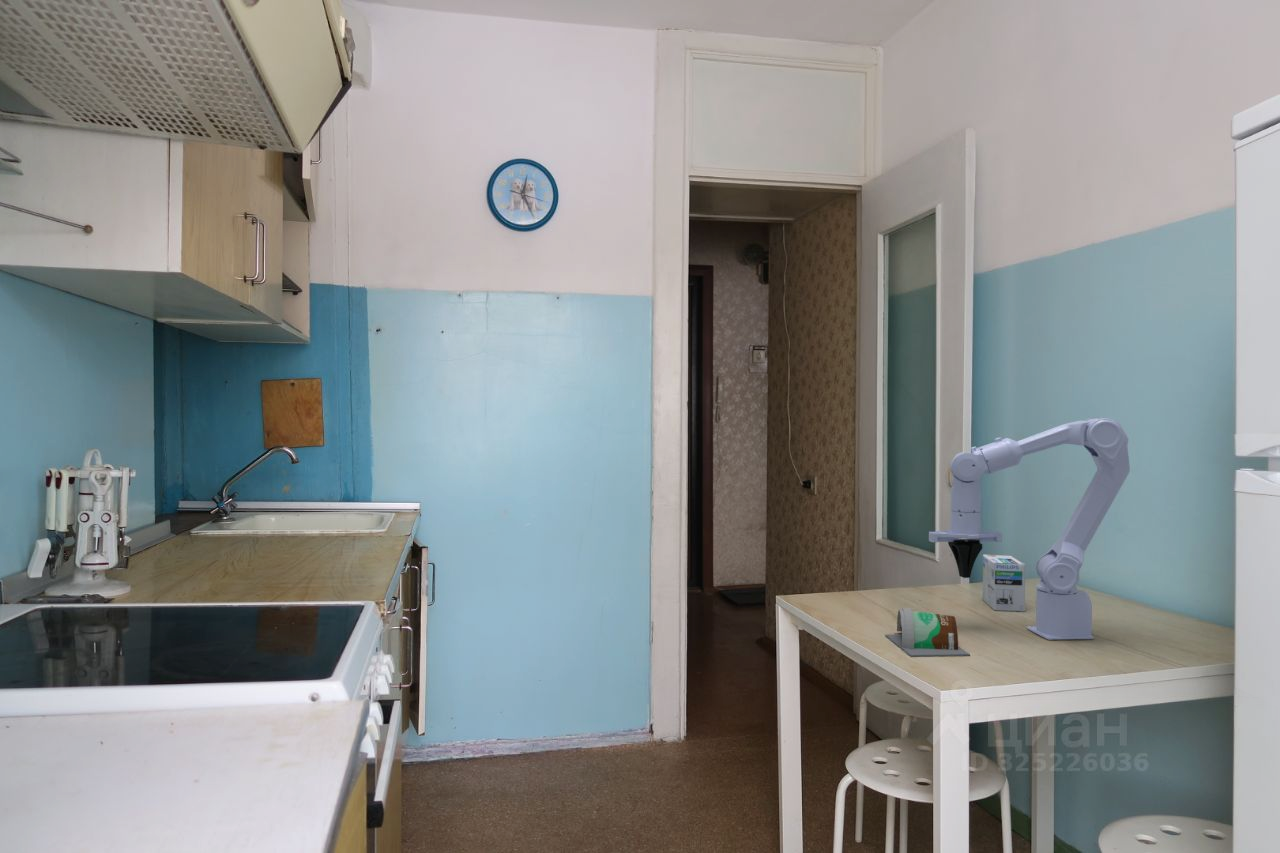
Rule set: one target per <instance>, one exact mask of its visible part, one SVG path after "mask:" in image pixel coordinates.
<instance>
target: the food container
mask: <svg viewBox="0 0 1280 853" xmlns="http://www.w3.org/2000/svg"><path fill="white" fill-rule="evenodd" d="M896 618H897V620H896V632H901V634H902V648H907V649H914V648H920V649H947V650H958V647H959V634H958V633H959V632H958V625H957V620H956V617H955V616H954V615H947V614H939V613H938V614H937V613H933V612H932V613H931V612H923V611H914V610H912V608H911V607H904V608H903V607H902V608H901V609H898V611H897V617H896Z"/></svg>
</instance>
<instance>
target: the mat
mask: <svg viewBox="0 0 1280 853" xmlns="http://www.w3.org/2000/svg"><path fill="white" fill-rule="evenodd" d="M884 635H885V637H886V638H887V640H889V641H890V642H892V643H893V644H895V645H896V646H897V647H898V648H899V649H900V650H902V651H903V652H904V653H906V654H907V655H908V657H911V658H914V657H918V658H919V657H921V658H923V657H968V656H969V657H970V656H971V654H970V653H969V652H968V651H966V650H965V649H963V648H961V647H960V646H958V650H947V649H920V648H914V649H907V648H902V633H901V634H893V633H892V634H891V633H890V634H884Z"/></svg>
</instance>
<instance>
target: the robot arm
mask: <svg viewBox="0 0 1280 853" xmlns="http://www.w3.org/2000/svg"><path fill="white" fill-rule="evenodd" d="M1065 444H1066V445H1067V444H1068V445H1074V446H1083V447H1084V448H1085V449H1086V450H1087V451H1088V453H1090V455H1091V458H1092V459H1093V462H1094V464H1095V466H1096V469H1097V470H1096V472H1095V474H1094V475H1093V477H1092V479H1091V480H1090V482H1089V484H1088V485H1087V488H1086V489H1085V492H1084V493H1083V495H1082V496H1081V499H1080V501H1079V502H1078V504H1077V506H1076V507H1075V509H1074V511H1073V513H1072V515H1071V517H1070V518H1069V520H1068V521H1067V524H1066V526H1065V528H1064V529H1063V531H1062V533H1061V535H1060V536H1059V538H1058V539H1057V540H1056V541H1055V542H1054V543H1053V544H1052V545H1051V546H1050V549H1049V550H1048V551H1047V552H1046V553H1043V555H1041V556H1039V558H1038V560H1037V561H1036V565H1035V570H1036V573H1037V575H1038V576H1039V578H1040V581H1039V583H1037V584H1036V598H1035V599H1036V600H1035V602H1036V604H1035V605H1036V606H1035V625H1033V626H1032V625H1027V626H1026V629H1027V630H1029V631H1031V632H1033V633H1034V634H1037V635H1039V636H1041V637H1042V638H1043V639H1046V640H1051V641H1052V640H1093V639H1095V637H1094V636H1093V635H1092V634H1093V632H1092V629H1093V628H1092V625H1093V604H1092V601H1091V598H1090V596H1089V594H1088V593H1087V592H1086V591H1085V590H1082V589H1078V588H1077V586H1078V584H1079V581H1080V571H1081V568H1082V566H1083V564H1084V559H1085V554H1086V550H1087V548H1088V546H1089V545H1090V544H1091V541H1092V540H1093V537H1094V536H1095V534H1096V533H1097V530H1098V529H1099V527H1100V526H1101V524H1102V522H1103V521H1104V520H1103V519H1104V518H1105V516H1106V515H1107V513H1108V512H1109V509H1110V508H1111V506H1112V504H1113V502H1114V500H1115V498H1116V497H1117V495H1118V493H1119V491H1120V490H1121V488H1122V486H1123V484H1124V483H1125V481H1126V479H1127V477H1128V476H1129V473H1130V468H1131V467H1130V460H1129V459H1130V458H1129V449H1128V444H1129V437H1128V436H1127V434H1126V432H1125V430H1124V428H1123V427H1122V426H1121V424H1120V423H1119V422H1118V421H1116V420H1115V419H1112V418H1108V417H1107V418H1106V417H1105V418H1103V417H1102V418H1101V417H1089V418H1087V419H1084V420H1077V421H1072V422H1067V423H1063V424H1061V425H1058V426H1055V427H1052V428H1050V429H1047V430H1045V431H1041V432H1038V433H1036V434H1033V435H1031V436H1028V437H1025V438H1023V439H1020V440H1018V441H1016V440H1014V439H1011V438H1008V437H1006V438H1002V437H996V438H994V440H993V442H991V443H988V444H985V445H982V446H978V447H976V446H972V447H970V451H971V452H969V451H961V452H959V453H957V454H955V455H954V457H953V458H952V459H951V461H950V464H949V470H950V471H951V473H952V476H951V477H952V478H951V487H950V529H949V530H939V531H928V542H931V543H932V544H933V543H948V546H949V548H950V549H951V550H950V551H951V552H952V554H953V557H954V559H955V563H956V565H957V571H958V575H959V577H961V578H963V579H969V578H971V575H972V570H973V568H974V565H975V563H976V560H977V557H978V556H979V554H980V553H981V552H982V551H983V543H981V542H984V543H985V542H986V543H987V542H996V543H1002V542H1003V532H1001V531H996V530H995V531H994V530H993V531H992V530H991V531H990V530H981V522H982V520H981V518H982V517H981V516H982V515H981V514H982V513H981V510H982V506H981V505H982V489H981V477H982V475H984V474H985V475H990V474H993V473H996V472H999V471H1003V470H1005V469H1008V468H1011V467H1012V468H1013V467H1014V466H1017V465H1019V464H1020V462H1021V460H1022V458H1023V457H1024V456H1028V455H1031V454H1034V453H1038V452H1040V451H1045V450H1047V449H1050V448H1055V447H1058V446H1061V445H1065Z"/></svg>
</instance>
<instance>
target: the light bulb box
mask: <svg viewBox="0 0 1280 853" xmlns="http://www.w3.org/2000/svg"><path fill="white" fill-rule="evenodd" d="M982 600H983V601H984V602H985V603H986V604H987V605H988V606H990V608H992V610H994V611H1001V612H1002V611H1003V612H1004V611H1005V612H1006V611H1007V612H1008V611H1010V612H1023V613H1024V612H1025V611H1026V564H1025V563H1024V562H1021V561H1020V560H1019V559H1017V558H1015V557H1014V556H1012V555H999V554H998V555H997V554H982Z"/></svg>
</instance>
